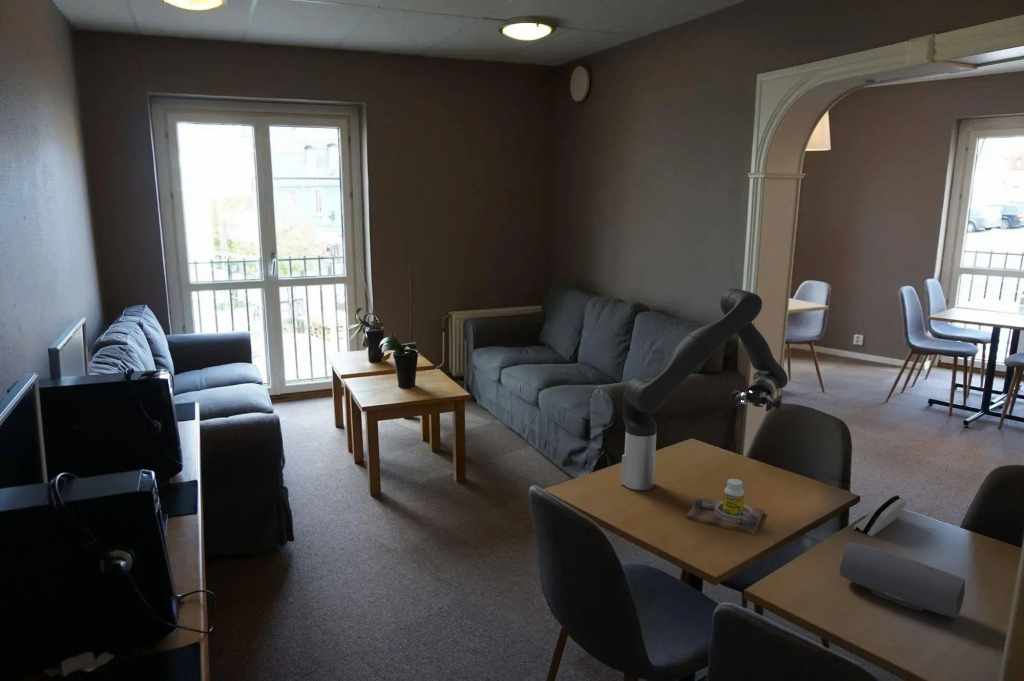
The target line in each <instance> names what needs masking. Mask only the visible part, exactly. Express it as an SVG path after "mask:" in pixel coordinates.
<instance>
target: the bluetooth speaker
mask: <svg viewBox="0 0 1024 681" xmlns="http://www.w3.org/2000/svg"><path fill="white" fill-rule="evenodd" d="M839 574H840V577H842V578H844V579H846V580H848V581H850V582H852V583H854V584H858V585H860V586H862V587H864V588H867V589H868V590H871V593H872V594H873V595H875V596H878V597H879V598H882V599H885V600H887V601H890V602H893V603H894V604H897V603H898V605H900V606H903V607H906V608H909V609H912V610H915V611H919V612H922V611H924V610H926V611H930V612H933V613H936V614H939V615H942V616H946V617H950V618H954V619H957V617H958V615H959V613H960V612H961V609H962V606H963V603H964V598H965V593H966V585H965V584H966V579H964V578H962V577H960V576H957V575H955V574H953V573H950V572H947V571H945V570H942V569H939V568H936V567H934V566H931V565H928V564H926V563H923V562H919V561H917V560H914V559H911V558H908V557H906V556H903V555H898V554H896V553H893V552H889V551H886V550H883V549H879V548H877V547H876V548H875V547H872V546H869V545H866V544H862V543H858V542H852V541H849V542H847V543H846V546H845V548H844V552H843V555H842V558H841V562H840V565H839Z"/></svg>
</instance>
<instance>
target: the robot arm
mask: <svg viewBox="0 0 1024 681" xmlns="http://www.w3.org/2000/svg"><path fill="white" fill-rule="evenodd" d="M719 304H720V309H721V311H722V313H723V315H724V316H722V317H721V318H719V319H718V320H716V321H714V322H711V323H709V324H707V325H704V326H702V327H699V328H697V329H695V330H693V331H692V332H689V333H688V334H687V335H686V336H685V338H683V339H682V340H681V341H680V342H679V343H678V344H677V345H676V346H675V347H674V349H673V351H672V353H671V356H670V358H669V360H668V363H667V366H666V367H665V369H664V370H663V371H662V372H661V373H660V374H658V375H657V376H656V377H655V378H654V379H653V380H651V381H649V380H647V379H646V378H644V377H643V378H642V377H634V378H632V379H630V380H629V381H628V382H627V383H626V385H625V388H624V390H623V399H622V402H623V403H622V404H623V408H622V409H623V412H622V414H623V416H622V417H623V421H624V425H625V433H624V434H625V438H624V453H623V454H622V456H621V476H620V477H621V478H620V484H621V485H622V486H625V487H626V488H627V489H630V490H633V491H634V490H635V491H647V490H648V491H649V490H651V489H652V488H654V484H655V466H656V450H657V449H656V448H657V431H658V430H657V429H658V428H657V423H656V421H655V419H654V418H653V416H652V413H655V412H657V411H658V410H659V409H660V408H662V406H664V404H665V403H666V401H667V400H668V399H670V397H671V396H672V394H674V392H675V391H676V390H677V389H678V388H679V387H680V386H681V385H682V384H683V383H684V382H685V381H686V380H687V379H688V378H689V377H690V376H691V375H692V374H693V373H694V372H695V371H696V370H698V369H699V368H700V367H701V366H702V365H703V364H704V363H705V362H706V361H707V360H708V359H710V357H712V356H713V354H714V353H716V351H717V350H719V348H721V347H722V346H723V345H724V344H725V343H726V342H728V341H729V340H730V339H731V338H732V337H733V336H735V335H736V334H737V336H738V339H739V340H740V342H741V343H742V345H743V347H744V349H745V352H746V354H747V356H748V359H749V361H750V363H751V366H752V368H754V370H757V371H755V372H754V374H753V376H752V378H753V379H752V380H753V382H751V384H750V385H749V387H748V388H747V389H746V391H743V392H740V390H739V389H734V390H733V391H732V392H730V393H729V394H730V397H729V402H730V403H733V405H734V406H735V407H736V408H737V407H739V406H740V405H741V404H743V405H750V404H751V405H752V406H754V407H756V408H763V407H764V408H765V411H766V412H769V411H772V409H774V408H775V409H776V410H780V409H781V408H782V402H783V395H777V396H776V392H777V391H778V390H780V389H784V388H785V387H786V386H787V384H788V382H789V381H788V380H789V379H788V375H787V373H786V371H785V369H784V368H783V367H782V366H781V365H780V364H779V363H778V361H777V360H776V358H775V357H774V354H773V353H772V351H771V347H770V345H769V344H768V342H767V340H766V338H765V337H764V336H763V334H761V332H760V331H759V330H758V328H757V327H755V325H754V323H753V321H754V320H755V319H756V318H757V317H758V316H759V315H760V313H761V311H762V308H763V300H762V298H761V296H759V295H758V294H756V293H754V292H751V291H748V290H745V289H741V288H735V287H733V288H729V289H727V290H725V292H724V293H722V296H721V298H720V302H719ZM775 396H776V397H775Z"/></svg>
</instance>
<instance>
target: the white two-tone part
mask: <svg viewBox="0 0 1024 681" xmlns="http://www.w3.org/2000/svg"><path fill="white" fill-rule="evenodd" d="M906 505H907V500H906V499H905V498H904V497H900V495H899V494H897V493H895V492H891V493H889V494H887V495H886V496H884V497H883V498H881V499H880V500H879V501H878V502H876V503H875V505H873V506H872V507H871V509H870V510H869V512H868V513H867V514H866V516H865V518H863V519H862V520H860V521H859V522H857V523H855V525H854V526H853V528H854V529H855V530H857V529H859V530H860V531H862V532H864V531H865V532H866V535H867V536H869V535H870V536H869V537H871V536H872V537H874V536H875V535H876V534H878V533H877V532H881V531H882V530H883V529H884V528H886V527H888V524H889V525H890V524H891V523H893V522H895V521H896V520H897V519H898V518H899V516H900V515H901V512H902V511H903V509H904V507H905V506H906ZM896 518H897V519H896ZM892 521H893V522H892ZM885 526H886V527H885ZM856 528H857V529H856ZM881 529H882V530H881ZM874 534H875V535H874Z"/></svg>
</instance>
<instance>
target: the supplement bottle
mask: <svg viewBox="0 0 1024 681" xmlns="http://www.w3.org/2000/svg"><path fill="white" fill-rule="evenodd" d="M743 483H744V482H743V481H742V480H741V479H736V478H728V479H727V482H726V485H727V486H726V487H725V488H724V489H723V501H724V502H723V513H724V514H728V515H733V516H742V515H743V508H744V504H745V489H743Z"/></svg>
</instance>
